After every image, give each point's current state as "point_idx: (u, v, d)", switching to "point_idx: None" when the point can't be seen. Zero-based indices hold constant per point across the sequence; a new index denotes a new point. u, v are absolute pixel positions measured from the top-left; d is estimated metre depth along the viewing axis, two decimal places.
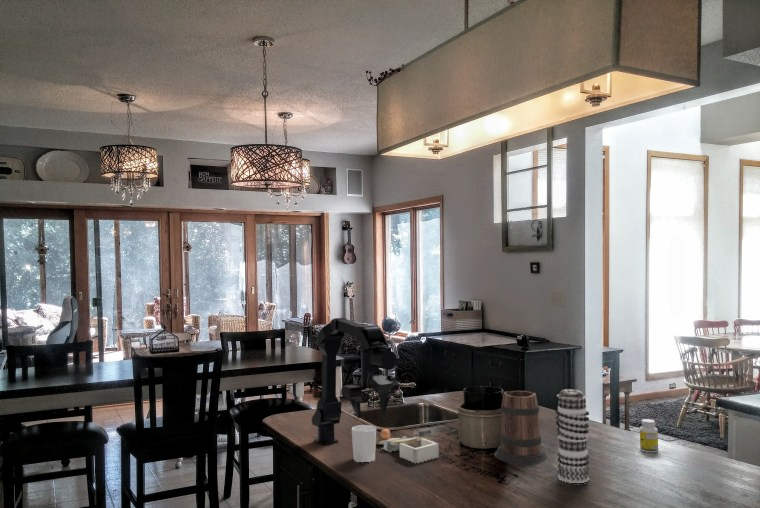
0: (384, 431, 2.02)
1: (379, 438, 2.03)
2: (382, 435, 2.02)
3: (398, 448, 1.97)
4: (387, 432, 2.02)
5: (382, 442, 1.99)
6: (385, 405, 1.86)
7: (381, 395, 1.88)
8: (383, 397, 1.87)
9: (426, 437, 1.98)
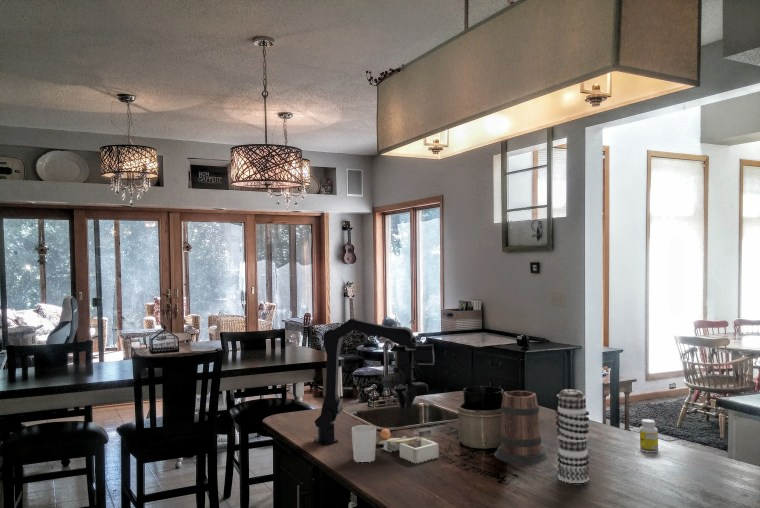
0: (384, 431, 2.02)
1: (379, 438, 2.03)
2: (382, 435, 2.02)
3: (398, 448, 1.97)
4: (387, 432, 2.02)
5: (382, 442, 1.99)
6: (405, 403, 2.00)
7: None
8: None
9: (426, 437, 1.98)
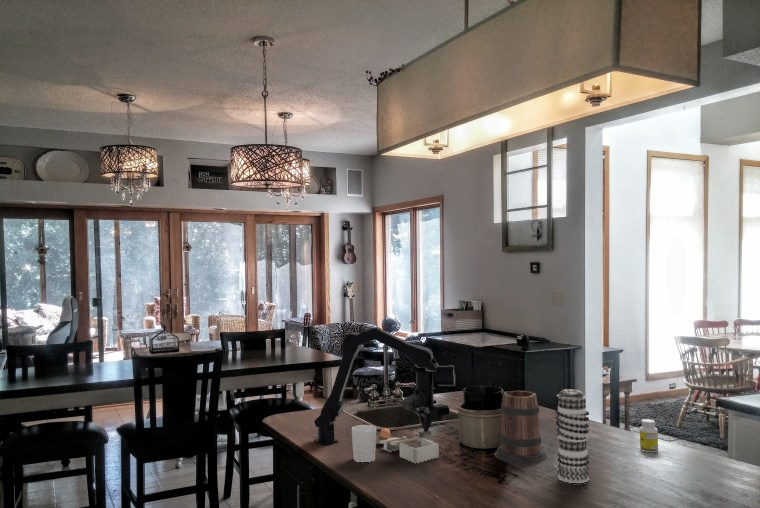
0: (384, 431, 2.02)
1: (379, 437, 2.03)
2: (382, 434, 2.02)
3: (398, 448, 1.97)
4: (387, 432, 2.02)
5: (382, 442, 1.99)
6: (424, 424, 1.98)
7: None
8: None
9: (426, 438, 1.98)
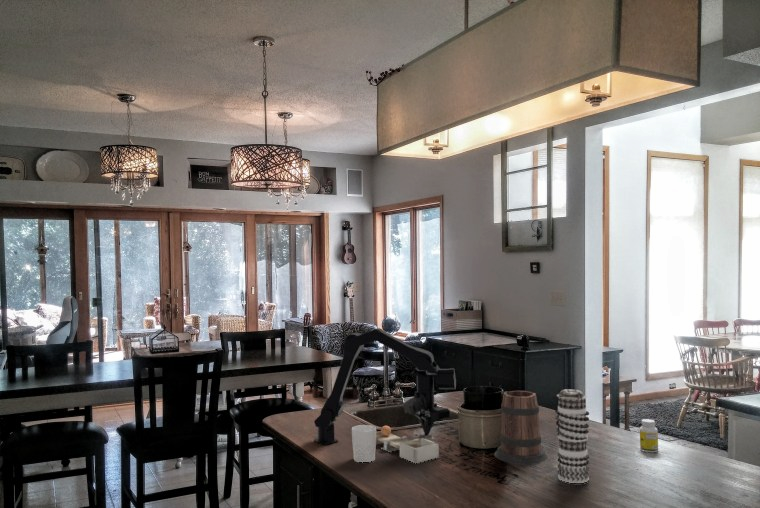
0: (386, 429, 2.01)
1: (379, 433, 2.03)
2: (383, 432, 2.01)
3: None
4: (388, 430, 2.01)
5: (382, 440, 1.99)
6: (425, 427, 1.98)
7: None
8: None
9: None
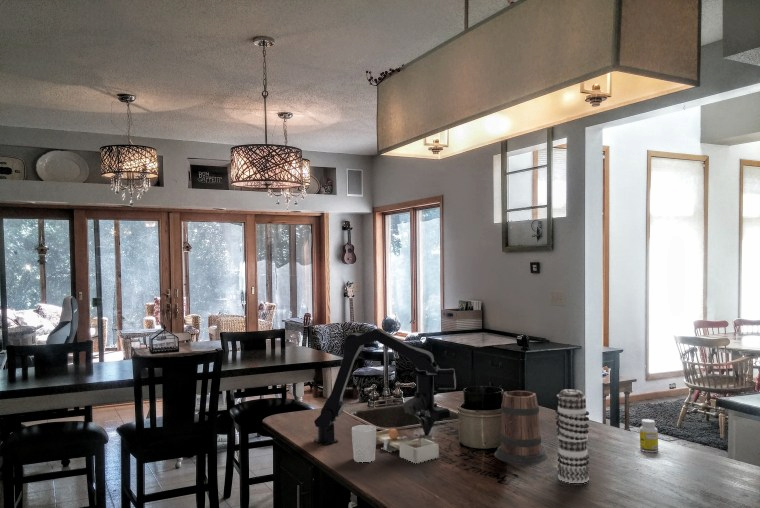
0: (391, 438, 1.99)
1: (379, 433, 2.03)
2: (389, 434, 1.99)
3: None
4: None
5: (382, 440, 1.99)
6: (425, 427, 1.98)
7: None
8: None
9: None
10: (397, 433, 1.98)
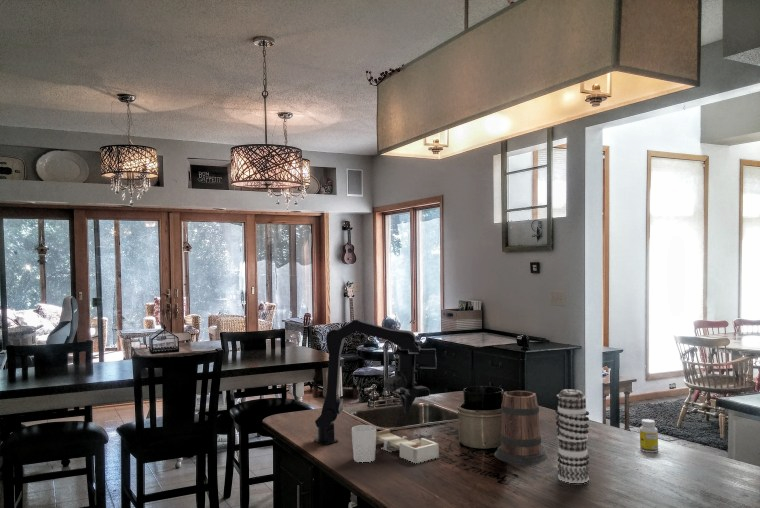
0: (417, 447, 1.87)
1: (379, 433, 2.03)
2: None
3: None
4: (420, 446, 1.87)
5: (382, 440, 1.99)
6: (404, 405, 2.02)
7: None
8: None
9: None
10: None
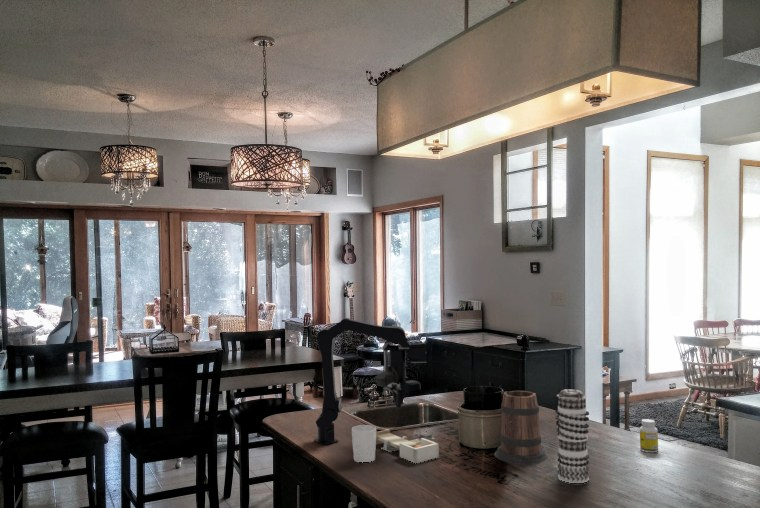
0: None
1: (379, 433, 2.03)
2: None
3: None
4: None
5: (382, 440, 1.99)
6: (396, 400, 2.04)
7: None
8: None
9: None
10: None
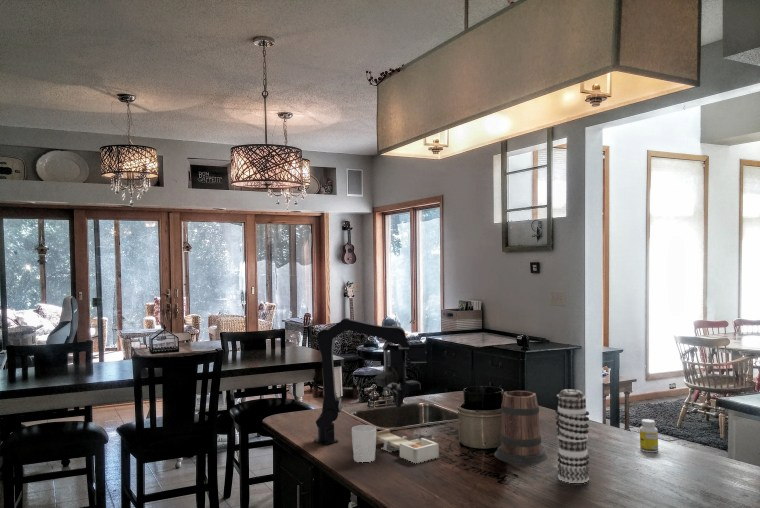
0: None
1: (379, 433, 2.03)
2: None
3: None
4: None
5: (382, 440, 1.99)
6: (396, 400, 2.04)
7: None
8: None
9: None
10: None
